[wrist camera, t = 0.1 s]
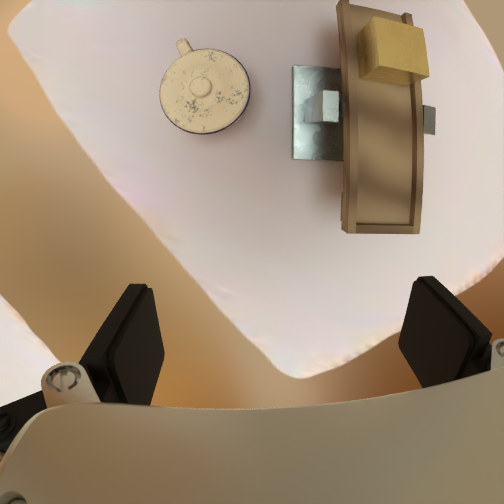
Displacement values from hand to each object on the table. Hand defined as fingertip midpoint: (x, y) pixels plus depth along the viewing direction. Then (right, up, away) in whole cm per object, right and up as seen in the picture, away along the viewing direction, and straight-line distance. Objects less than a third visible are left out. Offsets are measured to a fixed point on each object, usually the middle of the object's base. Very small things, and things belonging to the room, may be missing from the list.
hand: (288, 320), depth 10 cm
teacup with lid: (-7, +23, +25) cm, 34 cm away
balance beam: (+11, +17, +19) cm, 27 cm away
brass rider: (+12, +21, +14) cm, 28 cm away
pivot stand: (+11, +20, +26) cm, 35 cm away
